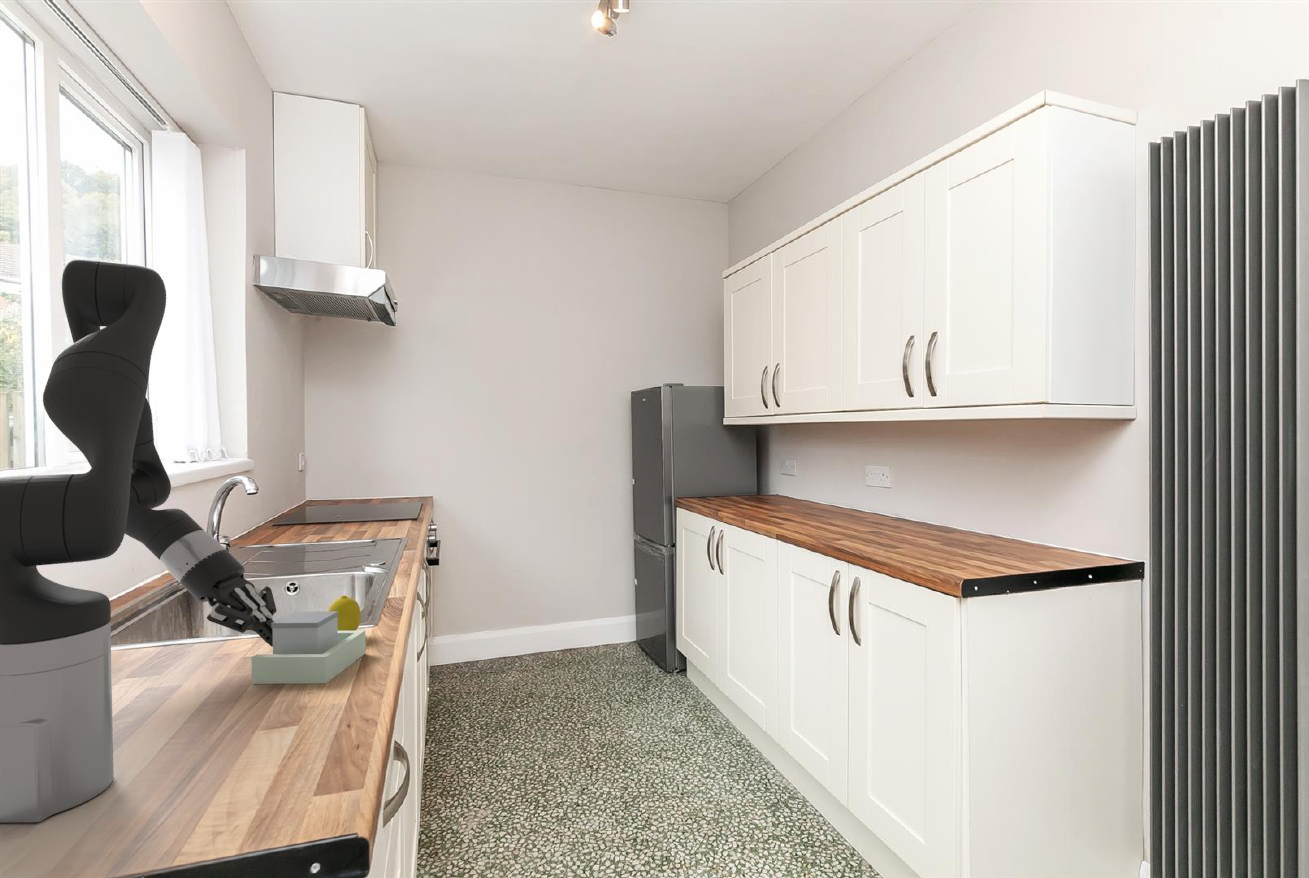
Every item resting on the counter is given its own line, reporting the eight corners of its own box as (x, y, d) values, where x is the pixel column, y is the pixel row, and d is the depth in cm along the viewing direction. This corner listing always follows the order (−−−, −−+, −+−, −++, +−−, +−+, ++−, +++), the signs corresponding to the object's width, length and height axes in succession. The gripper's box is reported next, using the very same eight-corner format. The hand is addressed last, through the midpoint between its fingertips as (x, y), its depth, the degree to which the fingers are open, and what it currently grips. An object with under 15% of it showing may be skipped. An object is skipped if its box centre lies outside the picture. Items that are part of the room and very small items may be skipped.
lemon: (351, 644, 110) (351, 599, 110) (321, 644, 110) (320, 599, 110) (366, 634, 116) (366, 591, 116) (337, 634, 116) (337, 591, 116)
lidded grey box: (318, 674, 96) (317, 622, 96) (272, 675, 96) (271, 623, 96) (338, 660, 102) (338, 611, 102) (295, 660, 102) (294, 611, 102)
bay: (326, 683, 93) (325, 656, 93) (251, 683, 93) (251, 657, 93) (365, 654, 105) (365, 630, 105) (300, 654, 105) (299, 631, 105)
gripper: (187, 557, 92) (270, 638, 92) (246, 541, 105) (319, 613, 106) (152, 592, 92) (235, 674, 92) (216, 572, 106) (288, 644, 106)
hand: (280, 641), depth 99 cm, fingers closed
